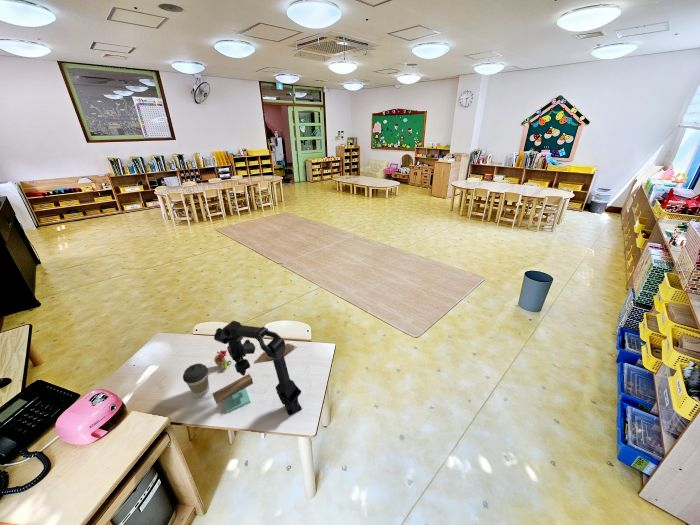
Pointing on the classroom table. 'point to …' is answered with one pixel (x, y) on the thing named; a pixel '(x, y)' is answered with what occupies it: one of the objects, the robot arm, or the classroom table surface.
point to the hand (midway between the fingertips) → (241, 369)
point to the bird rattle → (221, 359)
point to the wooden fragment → (265, 357)
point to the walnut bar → (232, 388)
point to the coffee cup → (197, 379)
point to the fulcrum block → (237, 400)
